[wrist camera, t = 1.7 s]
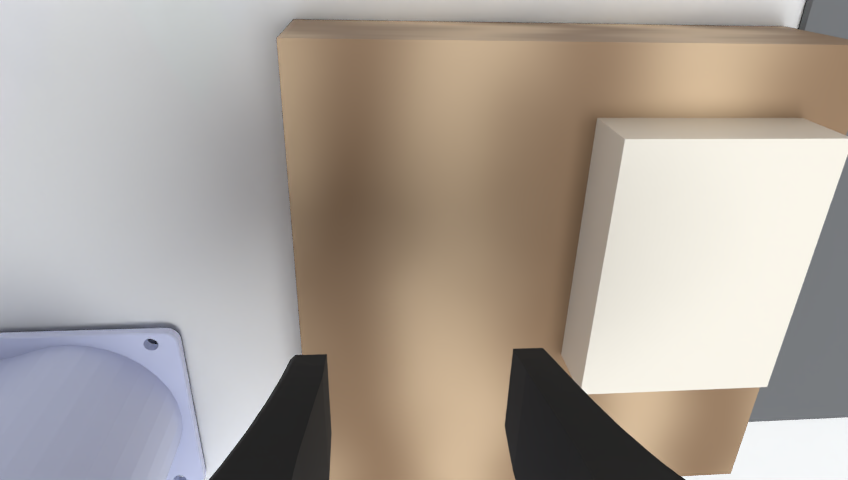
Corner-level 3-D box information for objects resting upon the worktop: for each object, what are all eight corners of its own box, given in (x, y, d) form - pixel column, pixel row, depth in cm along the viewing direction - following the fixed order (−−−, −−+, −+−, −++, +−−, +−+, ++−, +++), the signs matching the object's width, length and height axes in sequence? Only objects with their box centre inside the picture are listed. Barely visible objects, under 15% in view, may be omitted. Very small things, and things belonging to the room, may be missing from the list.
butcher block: (320, 418, 26) (313, 495, 22) (293, 19, 19) (276, 38, 15) (682, 403, 27) (730, 473, 23) (785, 26, 20) (876, 45, 16)
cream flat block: (561, 354, 20) (579, 394, 18) (597, 117, 17) (625, 139, 15) (732, 348, 21) (766, 386, 19) (802, 118, 17) (853, 138, 15)
